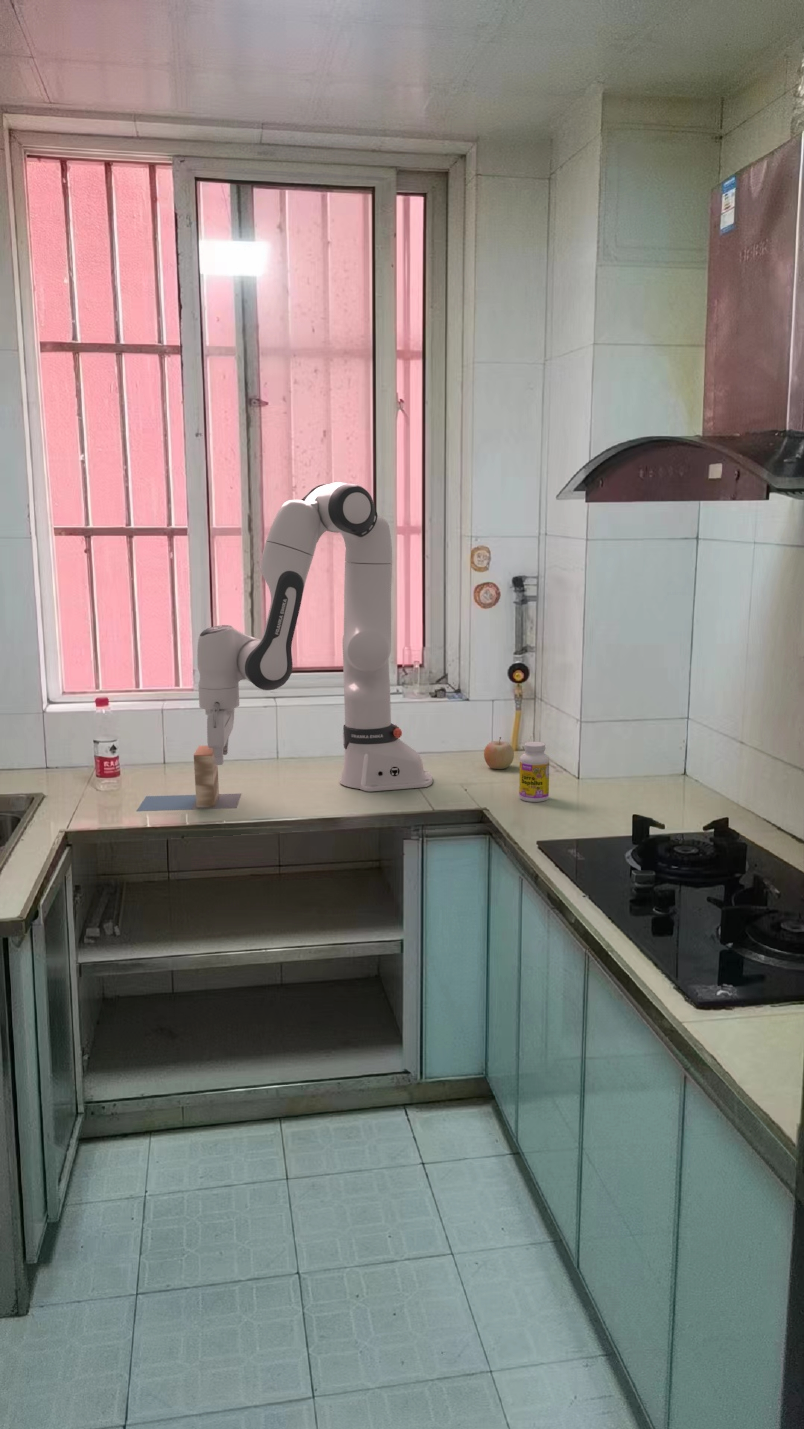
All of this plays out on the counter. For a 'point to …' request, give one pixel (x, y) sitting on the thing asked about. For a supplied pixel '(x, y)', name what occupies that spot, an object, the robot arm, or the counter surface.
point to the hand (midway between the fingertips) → (221, 759)
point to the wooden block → (206, 777)
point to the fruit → (498, 754)
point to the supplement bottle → (534, 773)
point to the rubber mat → (186, 802)
